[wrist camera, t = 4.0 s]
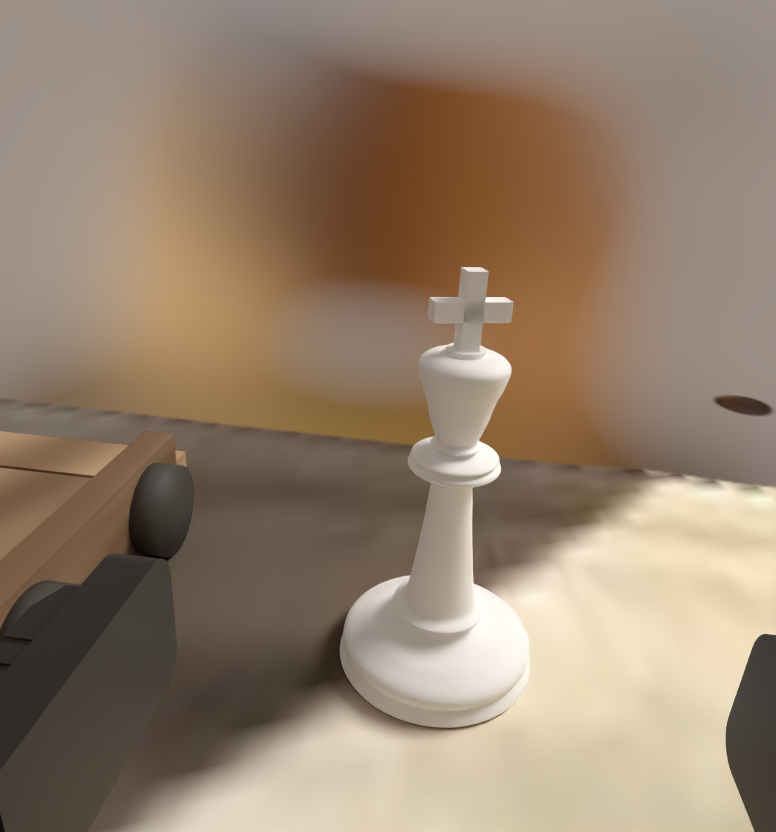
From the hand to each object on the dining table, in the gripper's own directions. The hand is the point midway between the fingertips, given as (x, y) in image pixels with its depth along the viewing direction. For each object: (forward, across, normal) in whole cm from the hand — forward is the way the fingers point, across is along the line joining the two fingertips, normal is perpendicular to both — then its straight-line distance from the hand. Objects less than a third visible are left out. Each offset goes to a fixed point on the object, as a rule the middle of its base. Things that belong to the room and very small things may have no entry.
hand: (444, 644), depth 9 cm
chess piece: (+6, 0, +6) cm, 9 cm away
